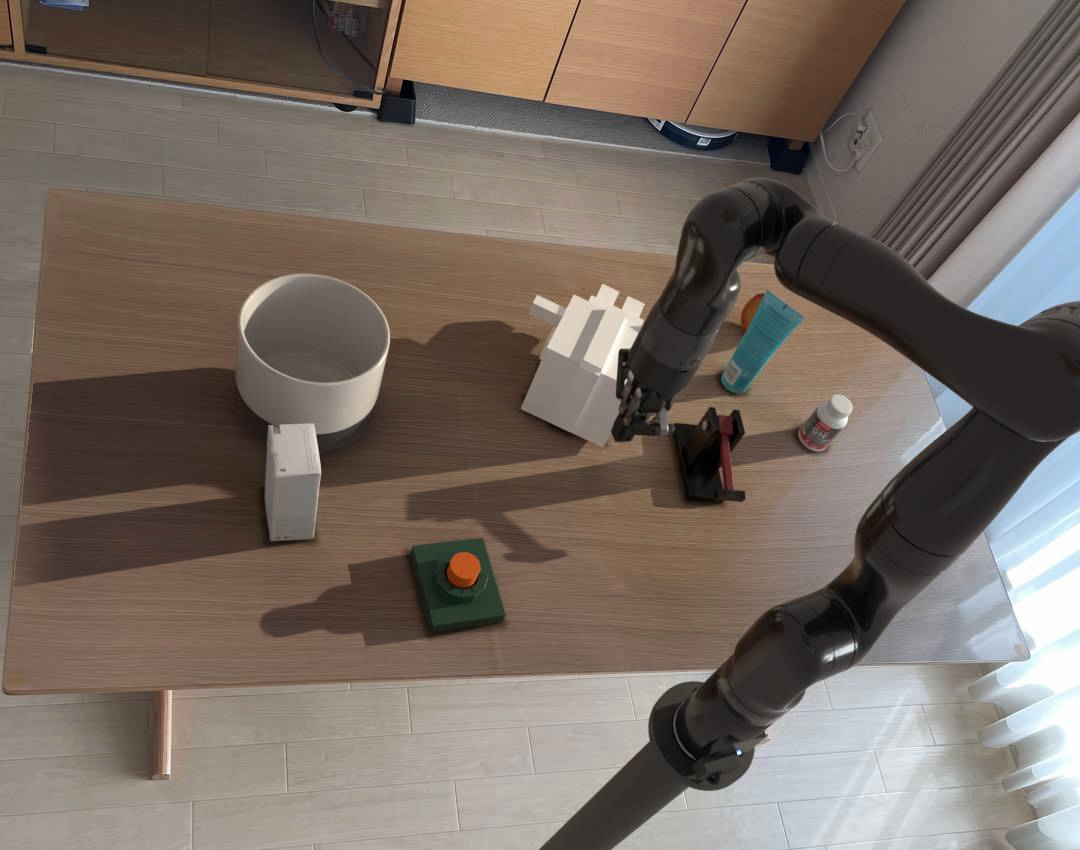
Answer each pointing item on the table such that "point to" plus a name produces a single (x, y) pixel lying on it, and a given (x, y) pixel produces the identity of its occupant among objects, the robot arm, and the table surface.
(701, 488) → the black bracket
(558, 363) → the white voxel figure
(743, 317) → the fruit
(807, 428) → the pill bottle
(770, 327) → the tube
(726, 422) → the red and black bar
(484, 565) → the button box
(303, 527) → the cosmetic box
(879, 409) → the table surface
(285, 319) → the planter
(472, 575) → the button
